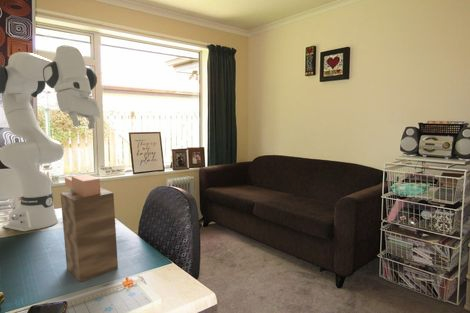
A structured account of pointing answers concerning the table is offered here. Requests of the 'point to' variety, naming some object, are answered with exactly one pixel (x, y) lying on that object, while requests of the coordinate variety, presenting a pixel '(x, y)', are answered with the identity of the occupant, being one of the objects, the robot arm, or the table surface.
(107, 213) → the walnut pedestal
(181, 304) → the table surface
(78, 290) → the table surface
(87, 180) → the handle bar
